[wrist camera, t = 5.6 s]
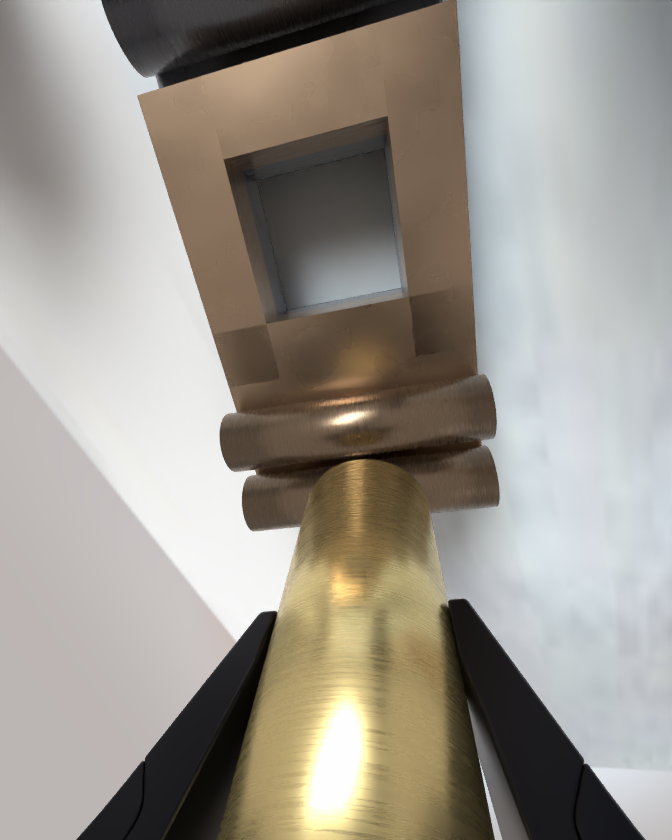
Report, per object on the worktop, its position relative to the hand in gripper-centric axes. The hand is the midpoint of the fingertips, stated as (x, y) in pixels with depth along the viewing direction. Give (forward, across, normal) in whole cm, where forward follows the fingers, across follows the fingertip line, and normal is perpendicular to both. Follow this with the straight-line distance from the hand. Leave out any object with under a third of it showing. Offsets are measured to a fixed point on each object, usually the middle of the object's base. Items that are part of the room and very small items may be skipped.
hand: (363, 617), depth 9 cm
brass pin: (+4, 0, 0) cm, 4 cm away
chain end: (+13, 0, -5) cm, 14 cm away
